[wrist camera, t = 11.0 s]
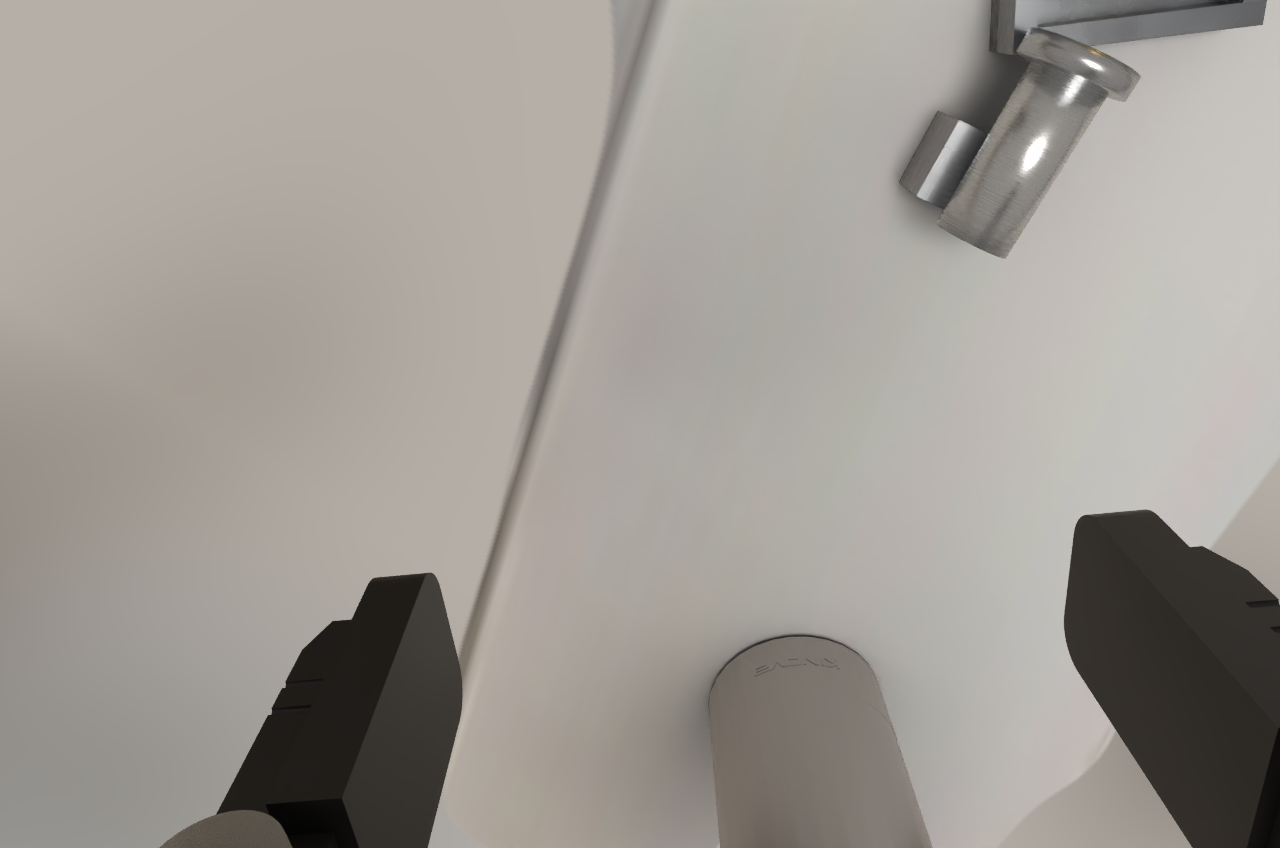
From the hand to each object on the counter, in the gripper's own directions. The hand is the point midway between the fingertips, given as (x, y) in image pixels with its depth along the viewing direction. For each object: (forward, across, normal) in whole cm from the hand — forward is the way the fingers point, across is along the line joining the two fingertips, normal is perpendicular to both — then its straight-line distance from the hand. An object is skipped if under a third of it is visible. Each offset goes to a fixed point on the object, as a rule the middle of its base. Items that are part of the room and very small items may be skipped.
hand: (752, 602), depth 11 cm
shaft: (+27, -12, -1) cm, 30 cm away
